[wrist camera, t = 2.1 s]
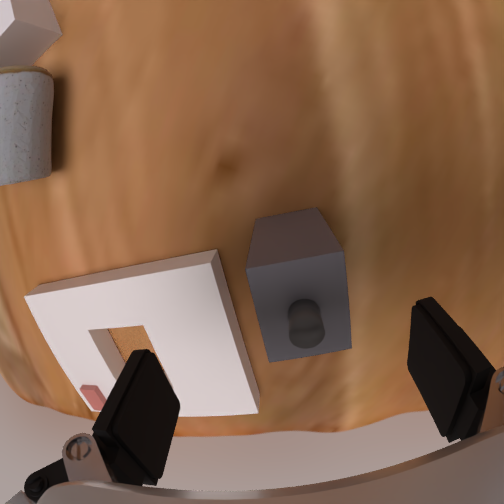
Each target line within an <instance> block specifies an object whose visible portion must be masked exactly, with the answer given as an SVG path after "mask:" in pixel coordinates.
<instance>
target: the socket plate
mask: <svg viewBox="0 0 504 504" xmlns="http://www.w3.org/2000/svg"><path fill="white" fill-rule="evenodd" d="M24 297H25V300H26V302H27V304H28V306H29V308H30V310H31V312H32V314H33V316H34V318H35V320H36V322H37V324H38V326H39V328H40V330H41V332H42V334H43V336H44V338H45V339H46V341H47V343H48V345H49V347H50V348H51V350H52V352H53V354H54V355H55V357H56V359H57V360H58V362H59V364H60V365H61V367H62V368H63V370H64V372H65V373H66V375H67V376H68V378H69V379H70V381H71V383H72V384H73V386H74V387H75V388H76V390H77V391H78V393H79V394H80V396H81V397H82V399H83V400H84V401H85V403H86V404H87V406H88V407H89V408H90V410H91V411H98V412H101V410H102V408H103V406H104V404H105V402H106V400H107V398H108V396H109V394H110V392H111V390H112V388H113V387H114V385H115V383H116V381H117V379H118V377H119V375H120V373H121V372H122V370H123V368H124V366H125V362H124V360H123V358H122V356H121V354H120V353H119V351H118V349H117V347H116V345H115V343H114V341H113V339H112V337H111V335H110V333H109V331H108V329H107V328H117V327H128V326H139V325H144V328H145V330H146V332H147V334H148V336H149V339H150V341H151V343H152V345H153V347H154V349H155V351H156V354H157V356H158V358H159V360H160V362H161V364H162V366H163V368H164V370H165V371H164V373H165V375H166V377H167V379H168V381H169V383H170V385H171V386H172V388H173V390H174V392H175V394H176V396H177V398H178V399H179V402H180V412H179V415H178V416H225V415H242V414H254V413H258V412H259V398H260V393H259V389H258V386H257V383H256V380H255V377H254V373H253V370H252V367H251V364H250V361H249V357H248V354H247V351H246V347H245V344H244V341H243V338H242V334H241V331H240V327H239V324H238V321H237V317H236V314H235V310H234V307H233V304H232V300H231V297H230V293H229V290H228V286H227V283H226V279H225V276H224V272H223V268H222V265H221V261H220V258H219V254H218V250H217V249H215V250H210V251H205V252H200V253H195V254H189V255H184V256H179V257H174V258H169V259H164V260H159V261H154V262H149V263H144V264H139V265H134V266H129V267H124V268H119V269H114V270H109V271H104V272H99V273H94V274H89V275H84V276H80V277H75V278H70V279H65V280H60V281H55V282H51V283H46V284H41V285H38V286H37V287H36V288H34V289H33V290H32V291H31V292H29V293H28V294H27V295H25V296H24Z"/></svg>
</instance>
